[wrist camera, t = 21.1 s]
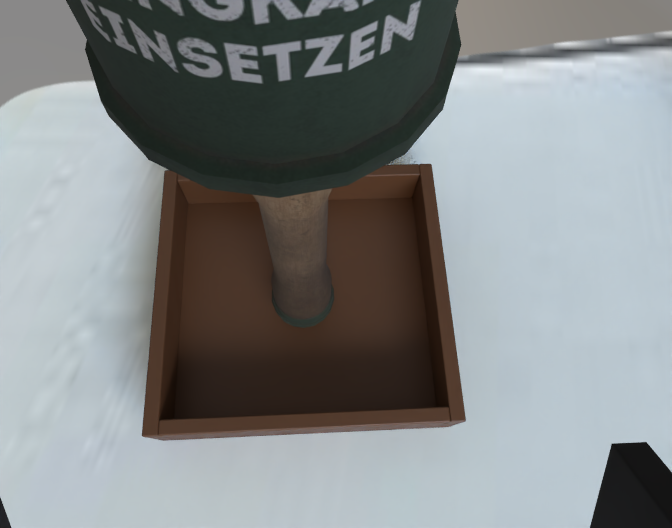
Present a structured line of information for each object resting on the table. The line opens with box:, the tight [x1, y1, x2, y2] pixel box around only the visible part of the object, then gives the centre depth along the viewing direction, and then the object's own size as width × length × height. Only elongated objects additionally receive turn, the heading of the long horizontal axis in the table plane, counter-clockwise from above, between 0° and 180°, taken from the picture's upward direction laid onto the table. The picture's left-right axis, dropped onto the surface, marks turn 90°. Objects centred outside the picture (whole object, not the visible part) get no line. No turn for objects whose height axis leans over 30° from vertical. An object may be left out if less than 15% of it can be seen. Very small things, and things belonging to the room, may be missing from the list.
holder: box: [142, 164, 466, 440], centre depth 31 cm, size 17×16×4 cm
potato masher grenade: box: [66, 0, 461, 328], centre depth 18 cm, size 8×9×30 cm
